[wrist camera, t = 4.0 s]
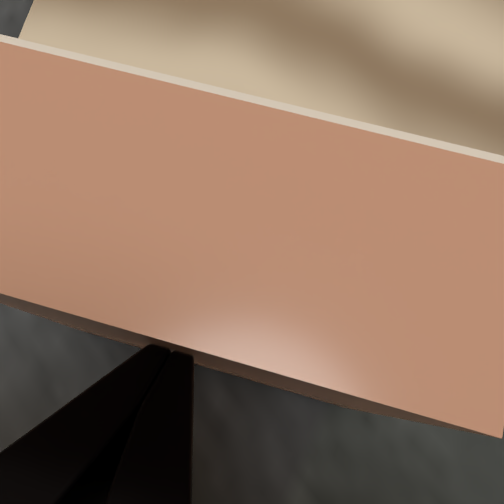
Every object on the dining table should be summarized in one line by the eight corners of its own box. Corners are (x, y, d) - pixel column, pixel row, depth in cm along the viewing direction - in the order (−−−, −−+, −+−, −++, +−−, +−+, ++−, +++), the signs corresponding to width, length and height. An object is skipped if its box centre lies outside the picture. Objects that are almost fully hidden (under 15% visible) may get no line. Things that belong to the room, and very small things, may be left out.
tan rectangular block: (346, 408, 15) (502, 438, 6) (80, 330, 16) (-189, 238, 6) (370, 295, 16) (539, 155, 7) (119, 226, 17) (-62, 11, 7)
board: (542, 310, 16) (556, 307, 15) (-16, 161, 17) (-29, 153, 17) (602, -47, 18) (617, -64, 18) (109, -147, 20) (102, -167, 19)
